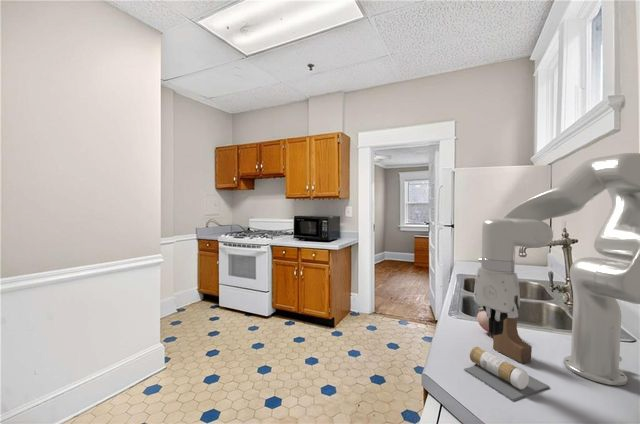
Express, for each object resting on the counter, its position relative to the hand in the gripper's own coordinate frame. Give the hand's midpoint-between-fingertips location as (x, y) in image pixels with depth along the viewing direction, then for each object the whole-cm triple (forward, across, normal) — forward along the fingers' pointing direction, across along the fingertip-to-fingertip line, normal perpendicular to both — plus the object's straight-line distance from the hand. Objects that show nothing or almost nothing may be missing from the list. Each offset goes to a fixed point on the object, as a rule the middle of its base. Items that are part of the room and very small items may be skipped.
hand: (495, 333), depth 75 cm
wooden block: (+11, -5, +15) cm, 19 cm away
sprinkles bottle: (+8, -6, 0) cm, 10 cm away
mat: (+11, +2, +1) cm, 11 cm away
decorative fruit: (+12, -17, +23) cm, 31 cm away
